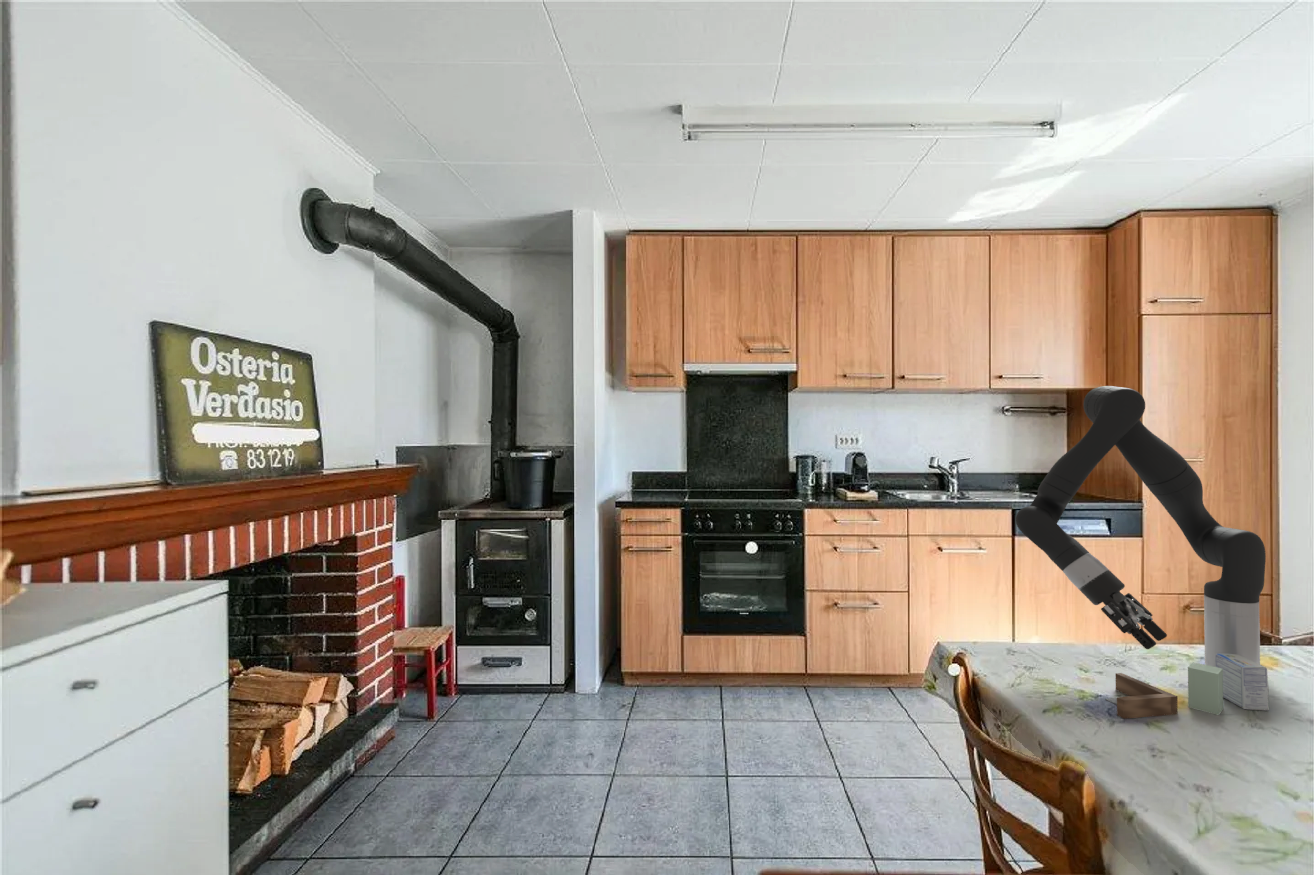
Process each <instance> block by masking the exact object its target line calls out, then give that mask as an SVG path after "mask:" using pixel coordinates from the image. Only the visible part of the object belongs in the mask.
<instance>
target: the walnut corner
mask: <svg viewBox="0 0 1314 875" xmlns="http://www.w3.org/2000/svg"><path fill="white" fill-rule="evenodd" d="M1115 691H1117V692H1120V693H1122V694H1124V695H1126V696H1118V697H1111V698H1110V697H1109V698H1105V701H1107V702H1109V703H1111V704H1114V705H1115V706H1116V716H1118V717H1119V718H1122V719H1124V720H1125V719H1136V718H1137V719H1138V718H1149V717H1159V716H1161V717H1162V716H1172V715H1174V716H1175V715H1178V712H1179V711H1178V709H1179V708H1178V696H1177V695H1175V694H1174V693H1170V692H1168V691H1165V690H1164V689H1161V688H1158V687H1156V686H1154V685H1151V684H1149V683H1146V682H1144V681H1141V680H1139V679H1137V678H1135V677H1132V676H1130V675H1127V674H1125V673H1122V672H1119V673H1115Z"/></svg>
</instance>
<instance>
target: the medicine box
mask: <svg viewBox="0 0 1314 875" xmlns="http://www.w3.org/2000/svg"><path fill="white" fill-rule="evenodd" d="M1215 666H1216V667H1218V668H1223V699H1226V700H1228V701H1229V702H1231V703H1232V704H1235V705H1236V706H1238V707H1240V708H1241V709H1244V710H1251V711H1265V712H1267V711H1270V710H1269V709H1270V708H1269V684H1268V683H1269V682H1268V668H1267V667H1266V666H1264V665H1262V664H1261V663H1260V664H1258V663H1256V662H1254V661H1252V660H1249V659H1247V658H1245V657H1243V656H1240V655H1237V654H1215Z"/></svg>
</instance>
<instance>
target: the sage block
mask: <svg viewBox="0 0 1314 875" xmlns="http://www.w3.org/2000/svg"><path fill="white" fill-rule="evenodd" d="M1187 681H1188V682H1187V693H1188V694H1187V697H1188V698H1187V699H1188V700H1187V701H1188V702H1187V704H1188V705H1187V706H1188V707H1187V708H1189V709H1194V710H1198V711H1201V710H1202V712H1205V711H1206V712H1205V713H1209V712H1210V714H1213V715H1217V716H1219V715H1220V714H1221V712H1222V711H1223V710H1224V697H1223V668H1218V667H1213V666H1209V665H1205V663H1198V662H1193V661H1192V662H1191V664H1190V665H1189V666H1188V667H1187Z"/></svg>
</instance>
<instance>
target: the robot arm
mask: <svg viewBox="0 0 1314 875" xmlns="http://www.w3.org/2000/svg"><path fill="white" fill-rule="evenodd" d="M1083 410H1084V413H1085V415H1086V417H1087V418H1088V419H1089V421H1090V422H1092V425H1091V427H1090V428H1089V429H1088V431H1087V432H1086V433H1085V435H1084V436H1083V437H1082V438H1081V439H1080V440H1079V441H1078V442H1077V443H1076V444H1075V445H1074V446H1073V447H1071V448H1070V449H1069V450H1067V451H1066V452H1065V453H1064V454H1063V455H1062V456H1061V457H1060V458H1059V459H1058V460H1057V461H1056V462H1055V463H1054V464H1053V465H1052V467H1051V468H1050V470H1049V471H1048V473H1047V474H1046V475H1045V476H1044V478H1043V480H1042V481H1041V483H1040V484H1039V486H1038V488H1037V494H1036V496H1035V497H1034V499H1033V500H1032V502H1031V504H1030V505H1029V506H1025V507H1023V508H1021V509H1020V510H1018V512H1017V513H1016V516H1015V524H1016V526H1017V528H1018V530H1019V531H1020V532H1021V534H1023V535H1024V536H1025V537H1027V539H1028V540H1030V541H1031V542H1032V543H1033V544H1034V545H1035V546H1036V547H1038V549H1040V550H1042V551H1043V552H1044V553H1045V554H1046V556H1048V558H1049V559H1050V560H1051V562H1053V564H1055V566H1057V567H1058V568H1059V569H1060V570H1061V571H1062V572H1063V574H1064V575H1065V576H1066V578H1067V579H1068V580H1069V581H1070V582H1071V584H1073V585H1074V586H1075V587H1076V588H1077V589H1078V590H1079V592H1080V593H1082V594H1083V596H1085V597H1086V599H1088V600H1089V601H1090V603H1092V605H1094V606H1098V605H1100V604H1102V603H1103V604H1104V606H1103V607H1101V608H1100V610H1101V612H1102V613H1104V614H1105V616H1106V617H1107V618H1108V619H1109V620H1110V621H1111V622H1112V623H1113V624H1114V625H1115V626H1116V627H1117V628H1118V629H1119V630H1120V632H1121V633H1123V634H1126V633H1127V634H1128V635H1131V636H1132V637H1133V638H1134V639H1135V640H1136V642H1138V643H1139V644H1141V646H1143V648H1144V649H1145V650H1150V649H1152V648H1154V647H1155V646H1156V645H1157V642H1156V641H1158V642H1159V641H1162V640H1164V639H1166V638H1167V637H1168V634H1167V632H1165V631H1164V630H1163V629H1162V628H1161V627H1160V626H1159V625H1158V624H1157V623H1156V622H1155V621H1154V620H1153V614H1152V612H1151V611H1149V610H1148V608H1146V606H1144V605H1143V604H1142V603H1141V602H1140V601H1139V600H1138V599H1137V598H1135V597H1134V596H1133V595H1132V594H1131V593H1129V592H1128V593H1127V594H1123V593H1122V592H1121V591H1122V590H1124V588H1125V587H1126V586H1125V583H1124V582H1122V581H1121V580H1120V579H1119V578H1118V577H1117V576H1116V575H1115V574H1114V573H1113V571H1111V570H1110V569H1109V567H1107V566H1106V565H1105V564H1103V563H1102V561H1100V560H1099V559H1098V558H1096V556H1094V555H1093V554H1091V553H1090V552H1089V551H1088V550H1087V549H1086V548H1085V547H1084V546H1083V545H1082V544H1081V543H1080V542H1079V541H1078V540H1077V539H1075V538H1074V537H1073V536H1071V535H1069V534H1068V533H1067V532H1066V531H1065V530H1064V529H1063V528H1062V527H1061V526H1060V525H1059V524H1058V523H1059V521H1060V520H1061V519H1060V518H1061V517H1062V515H1063V514H1064V511H1065V509H1066V508H1067V505H1068V504H1069V503H1070V501H1072V499H1073V498H1074V497H1075V496H1076V494H1077V493H1078V491H1079V490H1080V488H1081V487H1082V485H1083V484H1084V482H1085V481H1086V479H1087V478H1088V477H1089V475H1090V474H1091V473H1092V472H1093V471H1094V469H1095V468H1096V466H1097V465H1098V464H1099V463H1100V462H1101V461H1102V460H1103V458H1105V456H1106V455H1107V454H1108V453H1109V452H1110V451H1111V450H1112V449H1113V448H1114V447H1116V448H1117V449H1118V451H1119V452H1120V453H1121V455H1122V456H1123V458H1124V459H1125V461H1127V463H1128V464H1129V465H1130V467H1131V468H1132V469H1133V470H1134V472H1135V473H1136V474H1137V476H1138V477H1139V479H1140V480H1141V481H1142V482H1143V484H1144V485H1145V486H1146V487H1147V489H1148V490H1149V491H1150V492H1151V493H1152V495H1154V497H1155V498H1156V499H1157V500H1158V502H1159V503H1160V504H1161V506H1162V507H1163V508H1164V509H1165V510H1166V512H1167V513H1168V514H1169V515H1170V517H1171V518H1172V519H1173V520H1174V522H1175V523H1176V525H1177V526H1178V527H1179V530H1180V531H1181V532H1182V533H1183V535H1184V537H1185V539H1186V540H1187V542H1188V544H1189V545H1190V546H1191V548H1192V550H1193V551H1194V553H1195V554H1196V555H1197V556H1198V557H1199V558H1200V559H1201V560H1203V561H1204V562H1206V563H1207V564H1210V565H1212V566H1215V567H1220V568H1221V576H1220V577H1219V579H1218V580H1213V581H1207V582H1205V584H1204V586H1203V608H1204V609H1203V611H1204V614H1203V615H1204V616H1203V618H1204V620H1203V623H1204V624H1203V625H1204V630H1203V631H1204V665H1209V666H1213V667H1216V666H1215V654H1237V655H1240V656H1243V657H1245V658H1247V659H1249V660H1252V661H1254V662H1256V663H1258V664H1260V665H1261V638H1260V636H1261V632H1260V631H1261V628H1260V627H1261V626H1260V625H1261V623H1260V621H1261V620H1260V618H1261V617H1260V596H1261V593H1262V591H1263V589H1264V586H1265V574H1266V557H1267V556H1266V553H1267V552H1266V546H1265V544H1264V542H1263V539H1262V538H1261V537H1260V536H1259V535H1258V534H1256V533H1255V532H1252V531H1250V530H1244V529H1239V528H1231V527H1225V526H1223V525H1221V524H1220V523H1219V522H1218V521H1217V520H1215V518H1214V517H1213V516H1212V514H1210V512H1209V511H1208V509H1207V508H1206V507H1205V505H1204V500H1203V498H1204V492H1203V484H1202V481H1201V478H1200V477H1199V475H1198V474H1197V473H1196V472H1195V470H1194V469H1193V467H1192V466H1191V465H1190V464H1189V462H1188V461H1187V460H1186V459H1185V458H1184V457H1183V456H1182V455H1181V454H1180V453H1179V452H1178V451H1176V449H1174V448H1173V447H1172V446H1170V445H1169V443H1166V442H1165V441H1164V440H1163V439H1161V438H1160V437H1158V436H1157V435H1156V434H1154V433H1153V432H1152V431H1150V429H1148V428H1147V427H1146V426H1145V425H1144V424H1143V422H1142V421H1141V418H1142V417H1143V415H1144V413H1145V410H1146V400H1145V399H1144V396H1143V395H1142V394H1141V393H1140V392H1139V391H1137V390H1135V389H1134V388H1128V387H1121V386H1113V385H1104V386H1098V387H1094V388H1093V389H1092V388H1091V390H1090V391H1089V392H1087V394H1086V395H1085V397H1084V399H1083ZM1140 625H1141V626H1142V627H1143V628H1144V629H1145V630H1146V631H1147V632H1146V631H1145V630H1144V629H1143V628H1142V627H1141V626H1140ZM1148 633H1149V634H1150V635H1151V636H1152V637H1153V638H1154V639H1155V640H1156V641H1155V640H1154V639H1153V638H1152V637H1151V636H1150V635H1149V634H1148Z"/></svg>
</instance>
